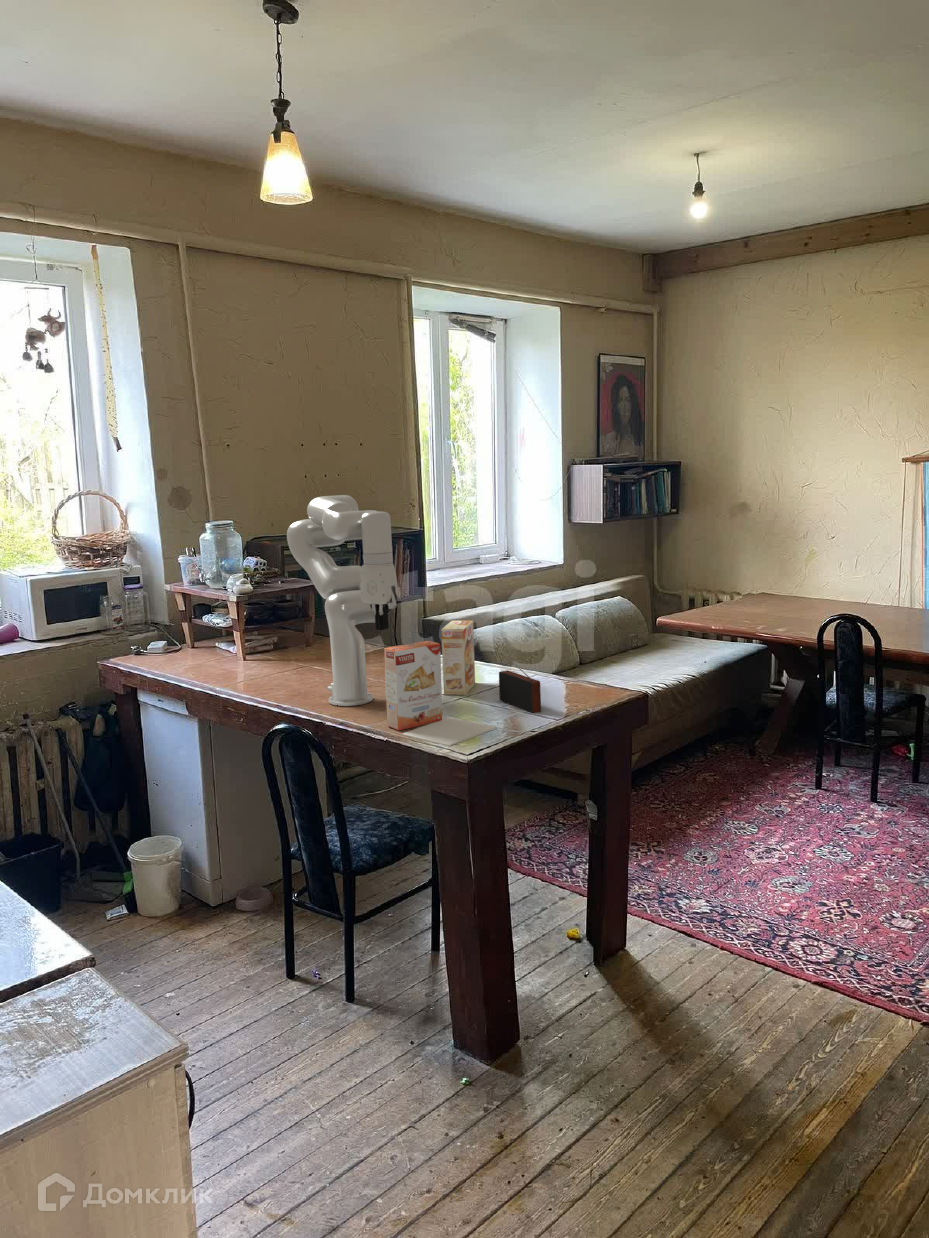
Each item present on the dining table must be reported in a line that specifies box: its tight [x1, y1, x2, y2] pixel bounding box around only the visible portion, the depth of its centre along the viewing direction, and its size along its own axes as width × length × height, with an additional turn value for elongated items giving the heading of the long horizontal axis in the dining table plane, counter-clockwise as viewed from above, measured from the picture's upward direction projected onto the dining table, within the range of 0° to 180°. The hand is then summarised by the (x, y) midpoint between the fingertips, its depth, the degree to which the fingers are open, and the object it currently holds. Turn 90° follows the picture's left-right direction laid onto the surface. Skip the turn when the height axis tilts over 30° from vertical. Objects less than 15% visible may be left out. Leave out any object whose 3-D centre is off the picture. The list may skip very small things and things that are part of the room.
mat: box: [401, 716, 498, 747], centre depth 229 cm, size 16×18×1 cm
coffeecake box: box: [440, 619, 476, 696], centre depth 270 cm, size 15×7×20 cm, turn 168°
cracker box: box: [383, 640, 443, 731], centre depth 235 cm, size 14×6×21 cm, turn 127°
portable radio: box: [496, 647, 542, 714], centre depth 250 cm, size 19×3×15 cm, turn 30°
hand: (382, 629), depth 240 cm, fingers closed
